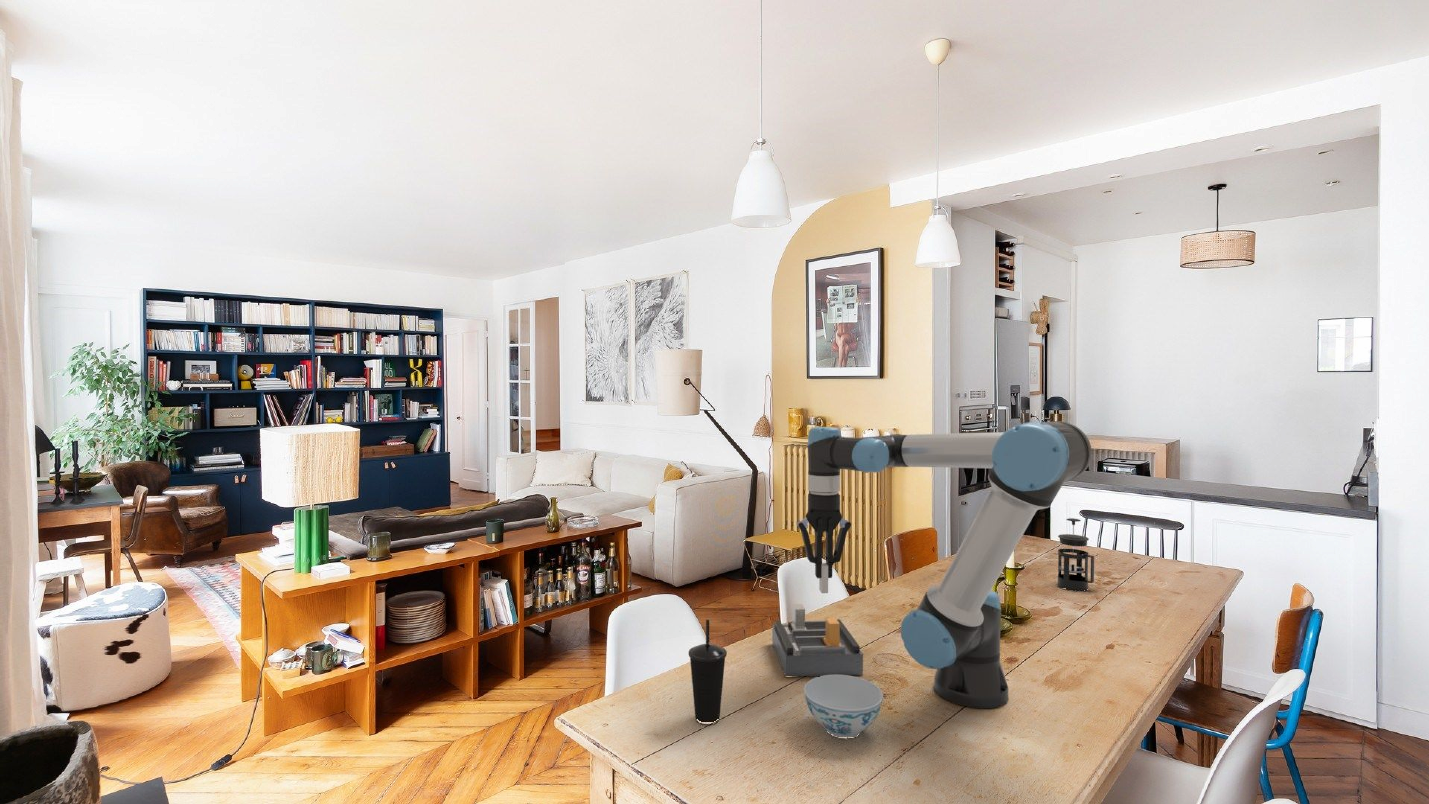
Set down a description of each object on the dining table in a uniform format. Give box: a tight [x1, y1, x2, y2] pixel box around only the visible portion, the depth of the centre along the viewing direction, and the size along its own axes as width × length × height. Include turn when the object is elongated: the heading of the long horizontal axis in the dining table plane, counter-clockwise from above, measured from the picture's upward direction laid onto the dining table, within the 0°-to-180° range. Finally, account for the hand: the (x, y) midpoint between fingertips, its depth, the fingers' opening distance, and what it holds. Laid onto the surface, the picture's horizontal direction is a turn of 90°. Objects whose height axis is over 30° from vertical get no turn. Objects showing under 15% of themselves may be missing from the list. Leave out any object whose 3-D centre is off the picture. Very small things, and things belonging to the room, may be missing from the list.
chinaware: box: [803, 675, 884, 738], centre depth 129 cm, size 15×15×8 cm
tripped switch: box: [823, 617, 841, 646], centre depth 158 cm, size 5×3×6 cm
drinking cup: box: [688, 619, 728, 722], centre depth 133 cm, size 8×8×20 cm
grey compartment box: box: [771, 603, 864, 676], centre depth 163 cm, size 20×18×11 cm
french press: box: [1056, 517, 1095, 592], centre depth 221 cm, size 12×9×23 cm
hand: (823, 591), depth 158 cm, fingers closed
